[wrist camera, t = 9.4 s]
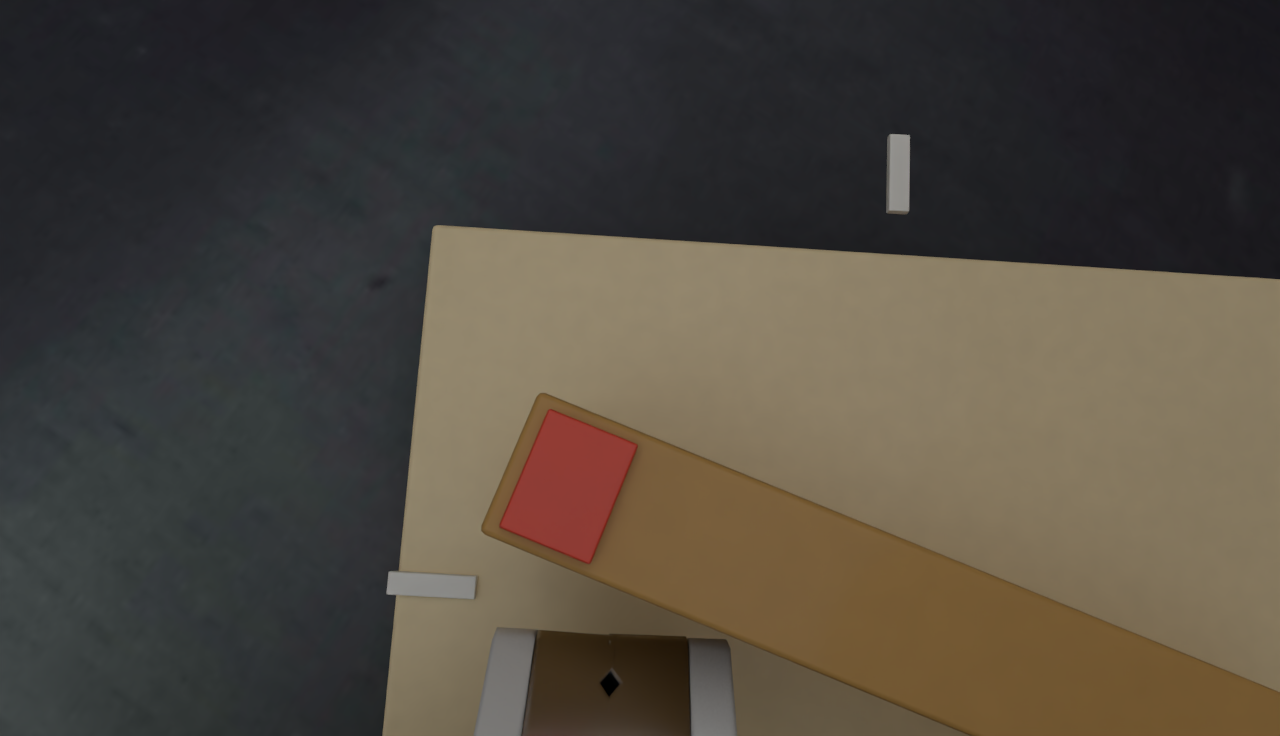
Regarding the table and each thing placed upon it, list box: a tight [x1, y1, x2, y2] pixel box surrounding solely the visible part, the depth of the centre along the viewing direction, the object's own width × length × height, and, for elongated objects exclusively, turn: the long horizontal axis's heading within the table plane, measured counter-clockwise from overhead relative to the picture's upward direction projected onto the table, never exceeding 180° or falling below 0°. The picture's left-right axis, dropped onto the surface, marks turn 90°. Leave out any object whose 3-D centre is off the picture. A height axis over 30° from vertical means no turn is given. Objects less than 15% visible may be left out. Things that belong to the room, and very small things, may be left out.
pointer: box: [481, 393, 1280, 736], centre depth 11 cm, size 12×2×5 cm, turn 68°
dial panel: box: [382, 134, 1280, 736], centre depth 15 cm, size 16×16×3 cm
